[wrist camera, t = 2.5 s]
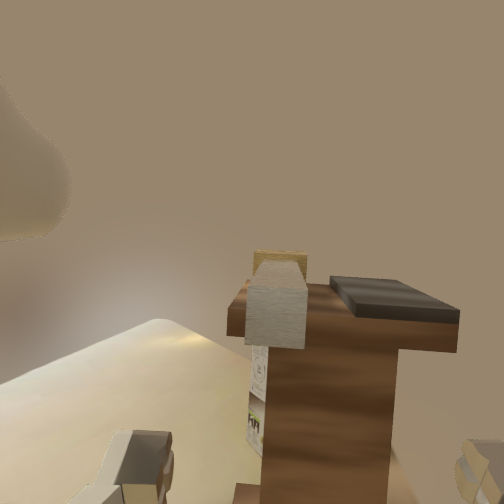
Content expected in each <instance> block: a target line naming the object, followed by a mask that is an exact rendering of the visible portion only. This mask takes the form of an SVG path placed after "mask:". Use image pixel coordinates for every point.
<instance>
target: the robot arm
mask: <svg viewBox="0 0 504 504" xmlns="http://www.w3.org/2000/svg"><path fill="white" fill-rule="evenodd" d="M70 197H71V178H70V173H69V169H68V166H67V164H66V162H65V159H64V157H63V156H62V154H61V152H60V151H59V149H58V148H57V147H56V145H55V144H54V143H53V142H52V141H51V140H50V139H49V138H48V137H46V136H45V135H44V134H43V133H42V132H40V131H39V130H38V129H37V128H36V127H35V126H33V125H32V124H31V123H30V122H29V121H28V120H27V119H26V117H25V116H24V115H23V114H22V113H21V111H20V110H19V109H18V108H17V106H16V105H15V103H14V102H13V100H12V99H11V97H10V95H9V94H8V92H7V90H6V88H5V86H4V84H3V82H2V80H1V78H0V243H1V242H8V241H15V240H22V239H28V238H34V237H40V236H45V235H47V234H48V233H49V232H50V231H52V230H53V229H54V228H55V227H56V226H57V224H58V223H59V222H60V220H61V219H62V218H63V216H64V214H65V212H66V210H67V208H68V205H69V201H70ZM171 445H172V434H171V432H165V431H147V430H124V429H117V430H116V431H115V432H114V434H113V436H112V438H111V441H110V443H109V446H108V448H107V451H106V453H105V456H104V458H103V461H102V464H101V466H100V469H99V471H98V474H97V476H96V479H95V481H94V484H87V485H86V486H85V487H84V488H83V489H82V490H81V491H80V492H78V493H77V494H76V495H75V496H74V497H73V498H72V499H71V500H70V501H68V502H67V503H66V504H167V501H166V493H167V492H168V491H169V490H170V488H171V483H172V477H173V468H174V454H173V451H172V450H171ZM461 450H462V452H463V454H464V455H463V456H462V457H460V458H459V459H458V460H457V462H456V465H455V480H456V484H457V487H458V490H459V492H460V494H461V496H462V498H463V499H464V500H466V501H467V502H468V503H469V504H504V440H503V441H502V440H473V439H471V440H470V439H469V440H468V439H467V440H466V441H464V442H463V444H462V447H461Z"/></svg>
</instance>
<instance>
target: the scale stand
mask: <svg viewBox="0 0 504 504" xmlns="http://www.w3.org/2000/svg"><path fill="white" fill-rule="evenodd" d="M250 281H251V280H247V281H246V283H245V284H244V286H243V287H242V289H241V290H240V292H239V293H238V294H237V296H236V297H235V299H234V300H233V302H232V303H231V305H230V306H229V308H228V317H227V336H235V337H245V324H246V306H247V287H248V284H249V283H250ZM306 286H307V288H308V299H307V315H306V331H305V346H304V349H293V348H280V347H268V364H267V382H266V399H265V416H264V433H263V450H262V468H261V485H252V484H242V483H236V488H235V494H234V499H233V504H386V501H387V488H388V476H389V463H390V451H391V437H392V425H393V412H394V400H395V388H396V387H395V386H396V375H397V362H398V350H399V349H409V350H422V351H436V352H449V353H456V350H457V340H458V329H459V317H460V310H459V309H457V308H454V307H452V306H450V305H448V304H446V303H444V302H442V301H440V300H437V299H435V298H433V297H431V296H429V295H427V294H425V293H422V292H420V291H418V290H416V289H414V288H412V287H410V286H407V285H405V284H403V283H401V282H399V281H397V280H389V279H373V278H357V277H341V276H330V284H329V285H323V284H322V285H321V284H307V283H306Z"/></svg>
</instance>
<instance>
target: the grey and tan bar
mask: <svg viewBox="0 0 504 504" xmlns="http://www.w3.org/2000/svg"><path fill="white" fill-rule="evenodd" d="M306 269H307V254H306V253H305V252H302V251H285V250H268V249H257V250H256V251H255V252H254V262H253V278H252V279H251V281H250V283H249V284H248V287H247V306H246V324H245V343H244V344H245V345H254V346H267V347H280V348H293V349H304V346H305V331H306V315H307V299H308V288H307V286H306Z"/></svg>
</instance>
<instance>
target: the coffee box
mask: <svg viewBox="0 0 504 504" xmlns="http://www.w3.org/2000/svg"><path fill="white" fill-rule="evenodd" d="M267 364H268V347H267V346H254V345H253V350H252V364H251V378H250V392H249V406H248V420H247V434H246V439H247V441H248V442H249V443H250V444H251V445H252V447H253V448H254V449H255V450H256V451H257V452H258V454H259V455H260V456H261V457H262V450H263V433H264V416H265V399H266V382H267Z"/></svg>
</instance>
